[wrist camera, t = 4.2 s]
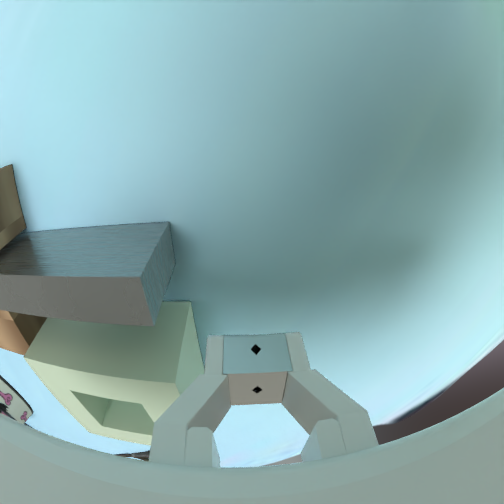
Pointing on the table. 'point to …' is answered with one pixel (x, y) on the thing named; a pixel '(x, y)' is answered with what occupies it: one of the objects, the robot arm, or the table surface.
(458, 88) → the table surface
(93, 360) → the square hole block
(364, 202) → the table surface
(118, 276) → the block
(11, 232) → the socket block
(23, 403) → the dog bowl
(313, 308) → the table surface
